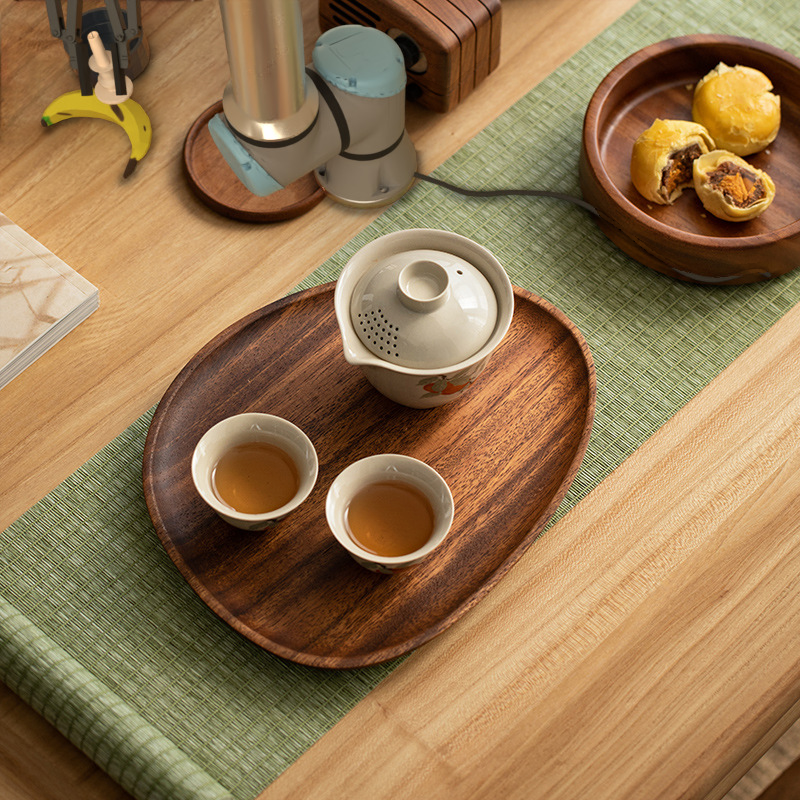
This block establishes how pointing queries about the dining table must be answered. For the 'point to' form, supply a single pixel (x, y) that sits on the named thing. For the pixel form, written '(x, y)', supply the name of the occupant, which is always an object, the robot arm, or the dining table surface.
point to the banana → (121, 114)
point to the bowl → (112, 41)
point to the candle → (105, 72)
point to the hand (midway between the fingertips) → (104, 95)
